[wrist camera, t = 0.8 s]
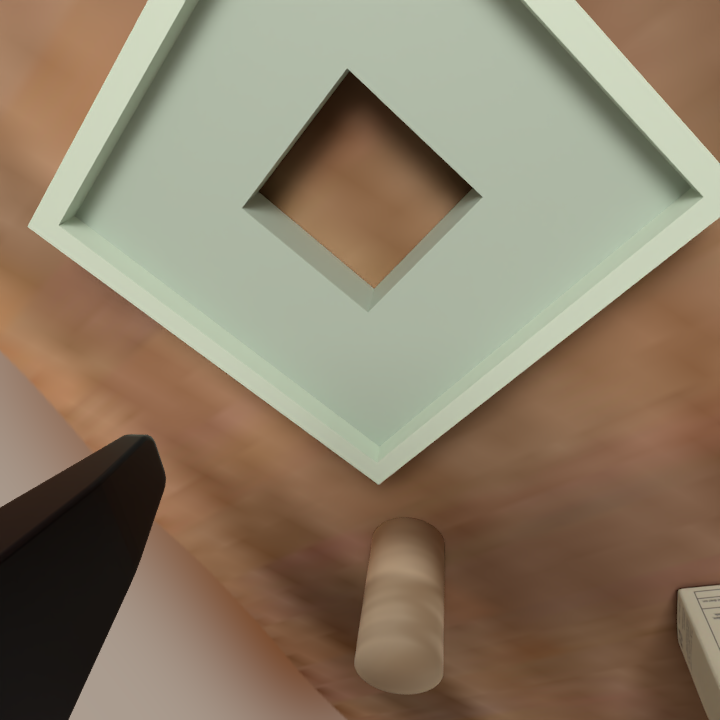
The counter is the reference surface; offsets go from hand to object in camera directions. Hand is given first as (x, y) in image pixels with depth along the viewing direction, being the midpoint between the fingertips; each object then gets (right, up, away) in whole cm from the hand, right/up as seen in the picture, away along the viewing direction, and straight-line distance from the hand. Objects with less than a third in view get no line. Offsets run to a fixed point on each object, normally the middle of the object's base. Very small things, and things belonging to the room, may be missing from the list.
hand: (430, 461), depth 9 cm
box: (-1, +8, +12) cm, 14 cm away
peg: (+1, -8, +21) cm, 22 cm away
